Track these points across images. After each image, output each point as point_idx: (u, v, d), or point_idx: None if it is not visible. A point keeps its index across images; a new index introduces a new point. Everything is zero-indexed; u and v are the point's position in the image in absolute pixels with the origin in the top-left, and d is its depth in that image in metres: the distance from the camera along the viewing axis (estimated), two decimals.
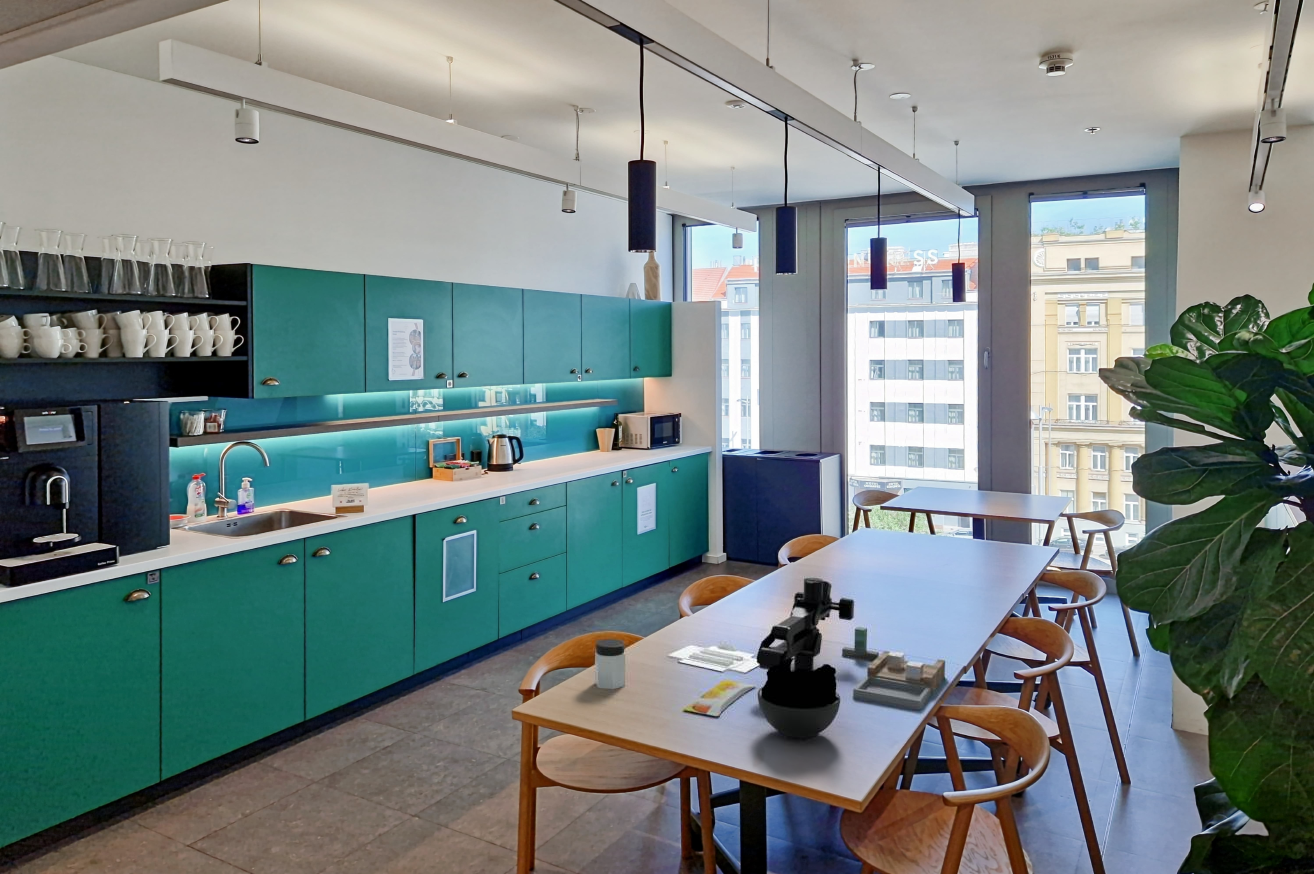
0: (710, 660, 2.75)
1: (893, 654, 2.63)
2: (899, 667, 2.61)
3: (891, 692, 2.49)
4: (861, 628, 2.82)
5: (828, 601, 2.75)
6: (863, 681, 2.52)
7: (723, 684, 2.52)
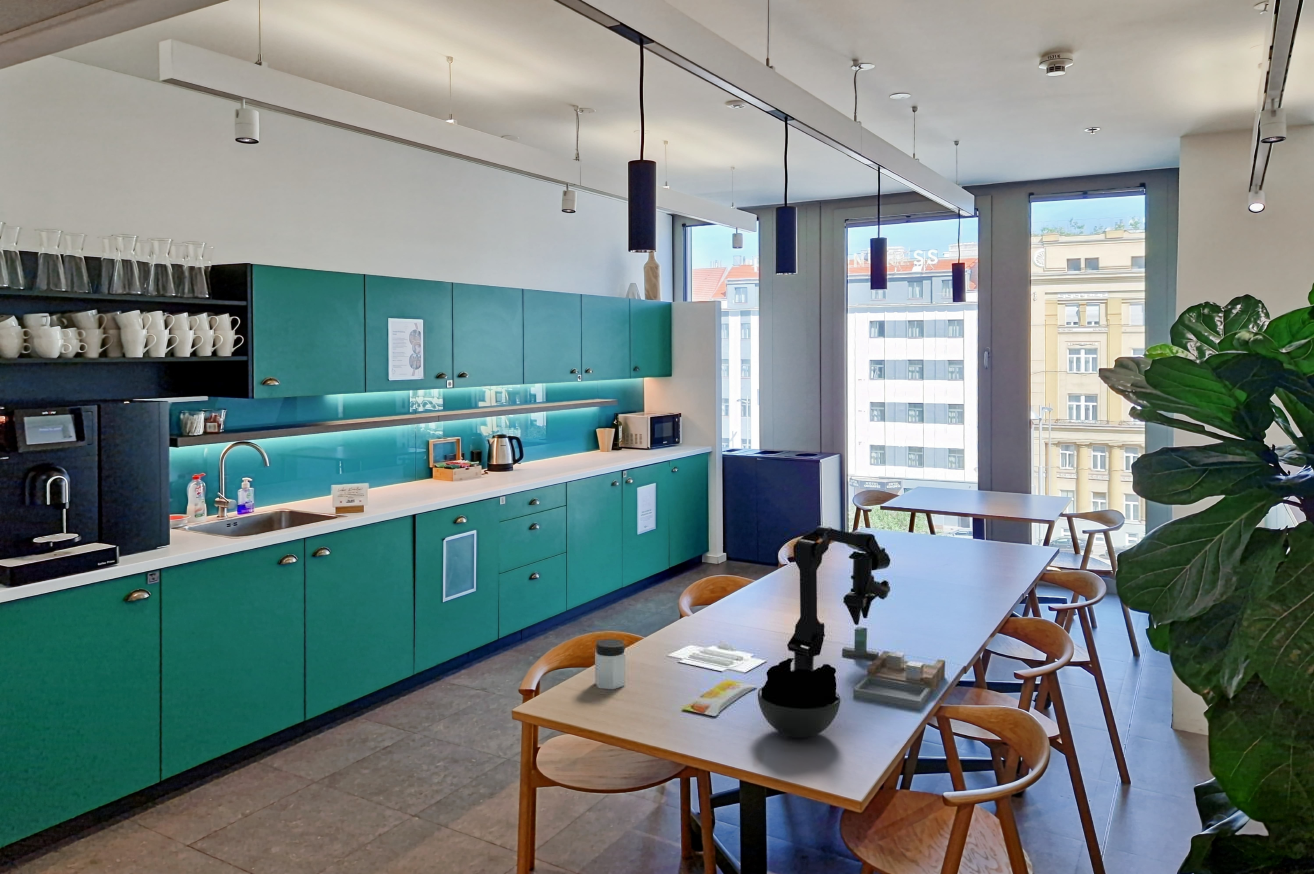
0: (710, 660, 2.75)
1: (893, 654, 2.63)
2: (899, 667, 2.61)
3: (891, 692, 2.49)
4: (861, 628, 2.82)
5: (867, 585, 2.77)
6: (863, 681, 2.52)
7: (724, 684, 2.51)
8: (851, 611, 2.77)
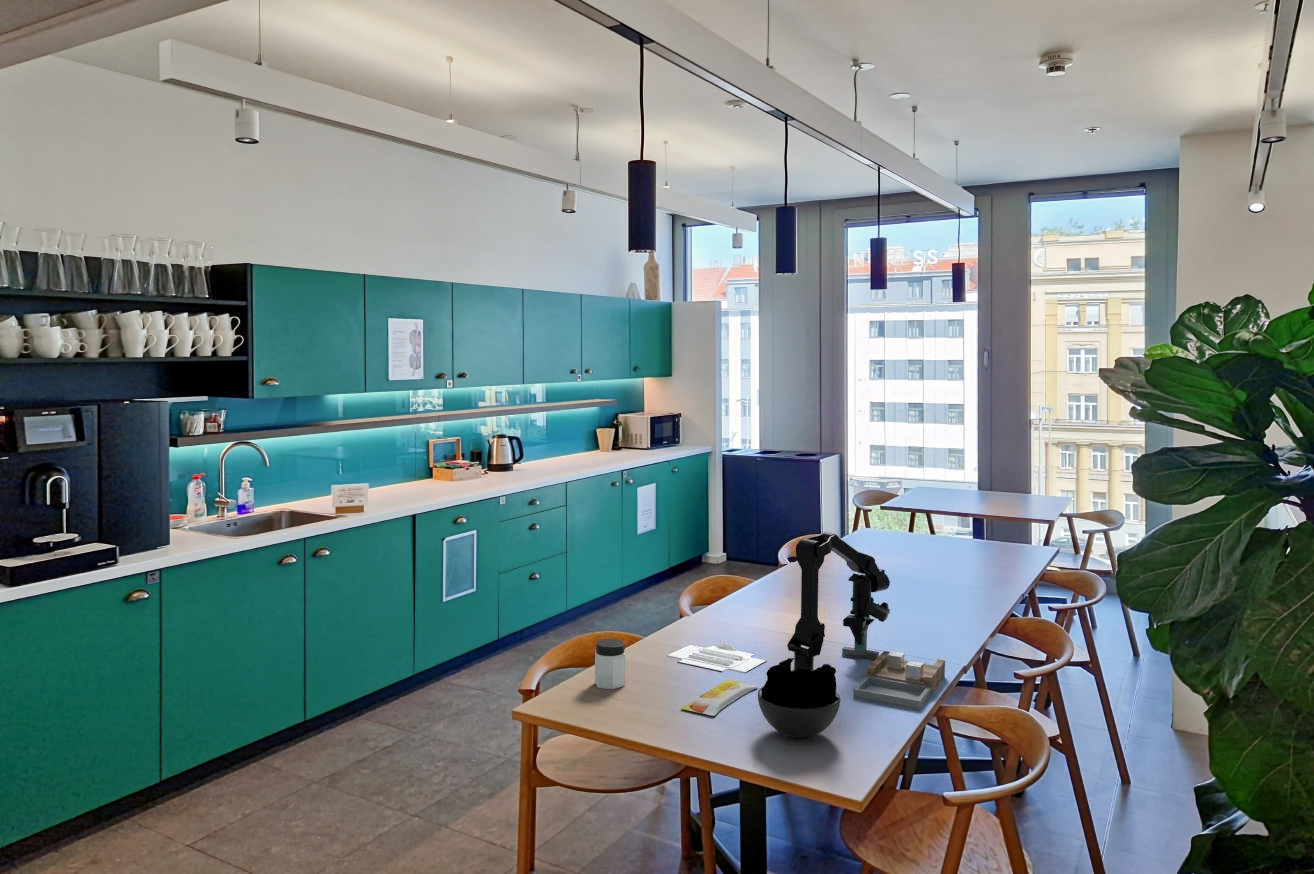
0: (710, 660, 2.75)
1: (893, 654, 2.63)
2: (899, 667, 2.61)
3: (891, 692, 2.49)
4: None
5: (867, 608, 2.78)
6: (863, 681, 2.52)
7: (725, 684, 2.51)
8: (853, 631, 2.80)
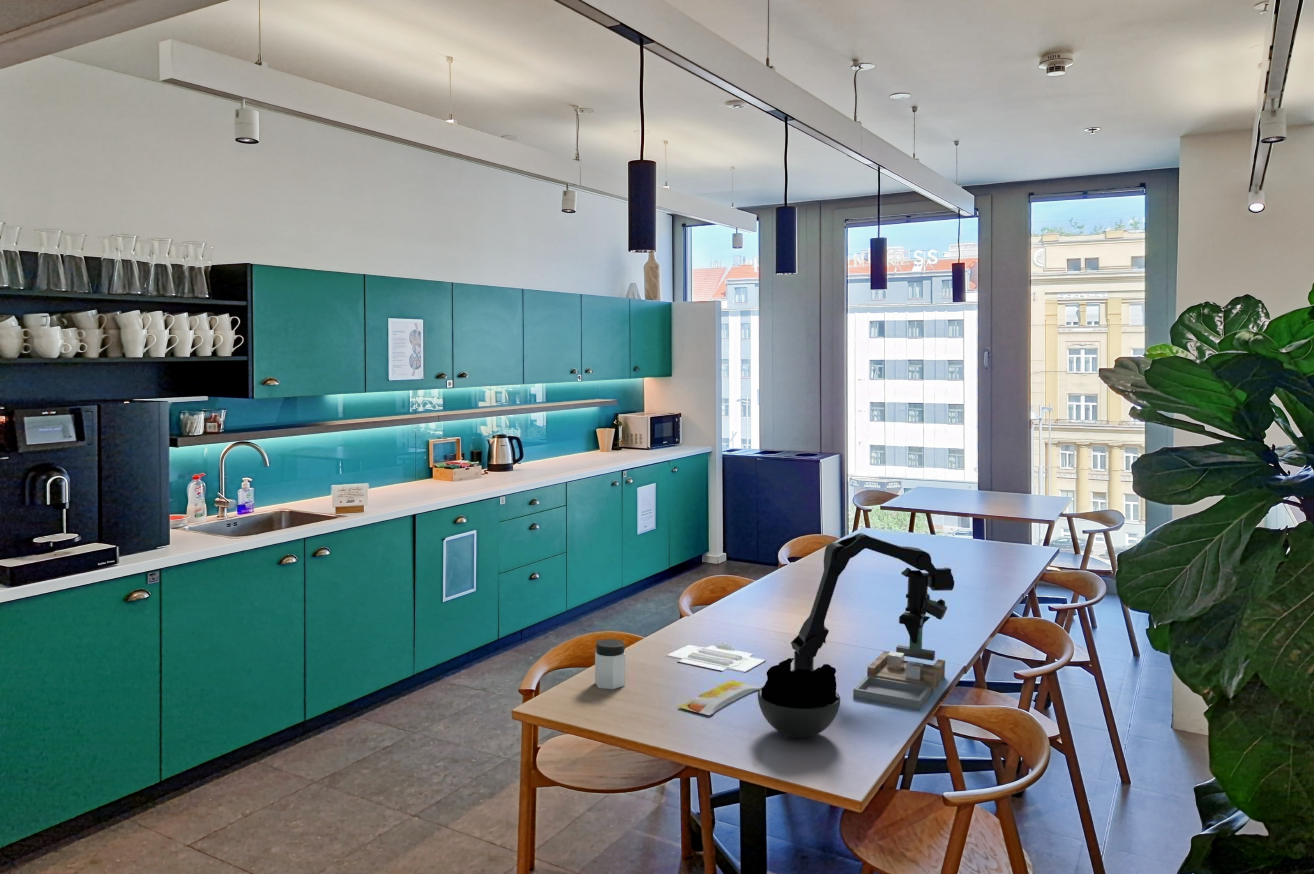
0: (709, 659, 2.75)
1: (893, 654, 2.63)
2: (899, 667, 2.61)
3: (891, 692, 2.49)
4: None
5: (923, 605, 2.66)
6: (863, 681, 2.52)
7: (727, 684, 2.51)
8: (909, 629, 2.68)
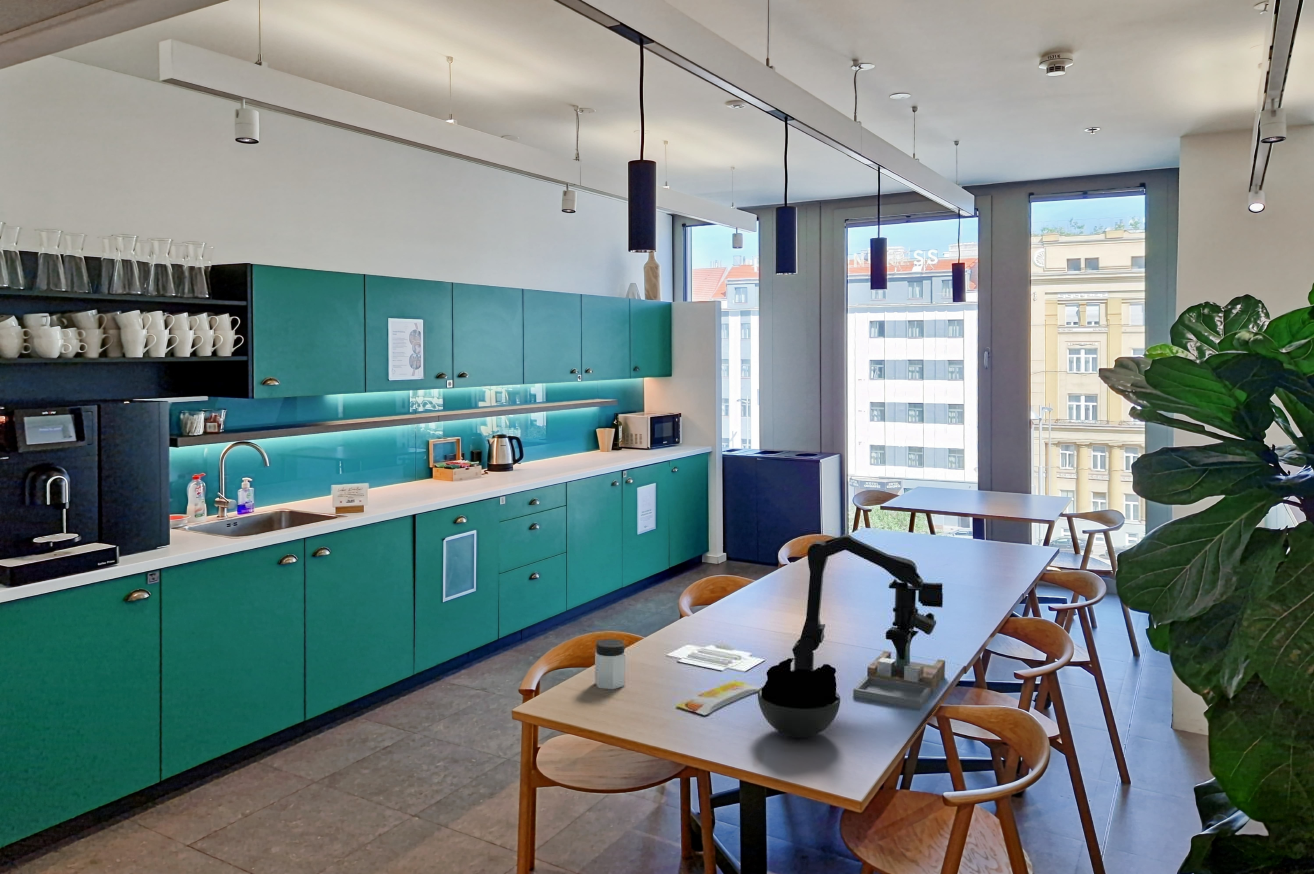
0: (709, 659, 2.75)
1: (883, 660, 2.57)
2: (889, 674, 2.55)
3: (891, 692, 2.49)
4: None
5: (911, 619, 2.53)
6: (863, 681, 2.52)
7: (729, 684, 2.51)
8: (896, 645, 2.55)
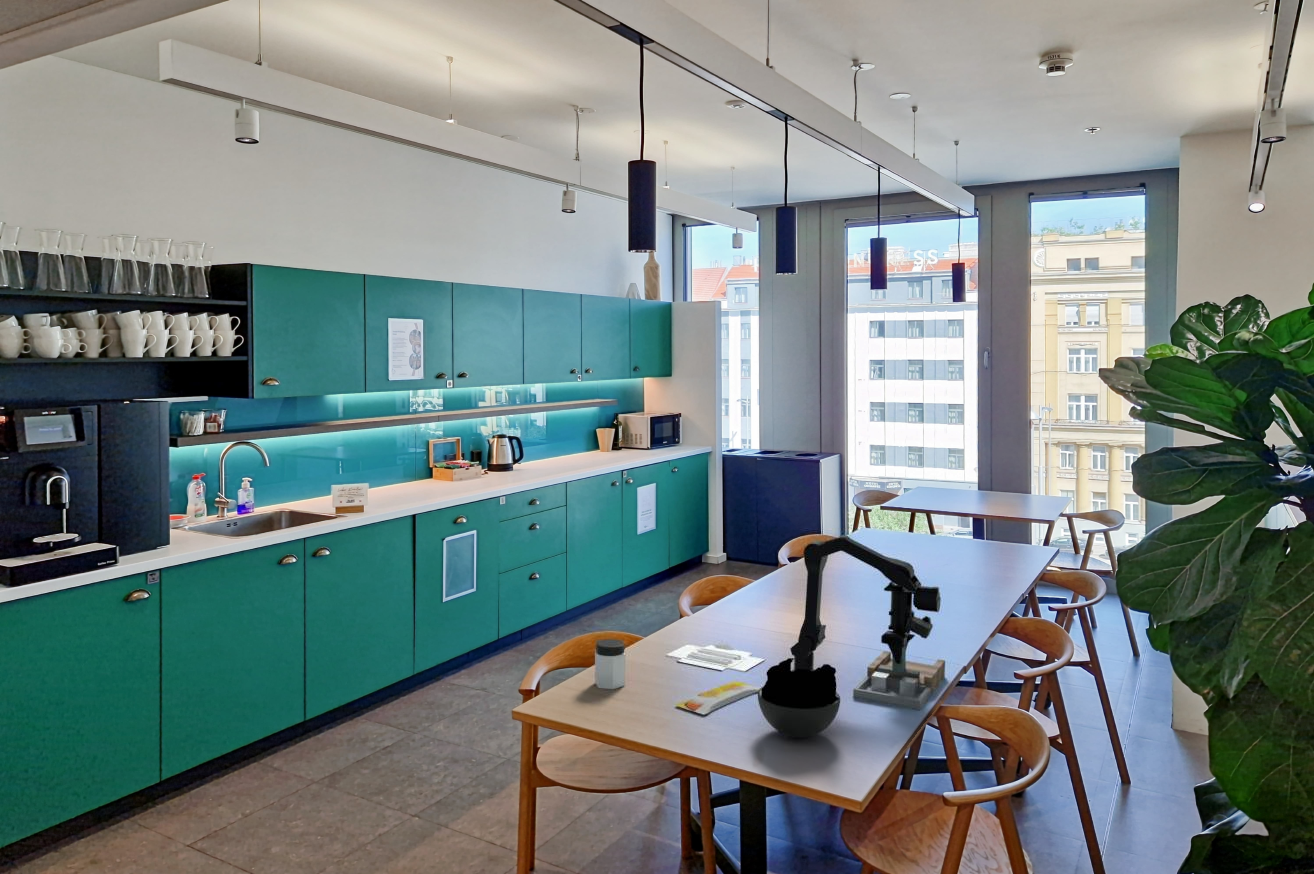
0: (709, 659, 2.76)
1: (876, 686, 2.50)
2: None
3: (891, 692, 2.49)
4: None
5: (907, 623, 2.49)
6: (863, 681, 2.52)
7: (729, 685, 2.51)
8: (892, 649, 2.51)
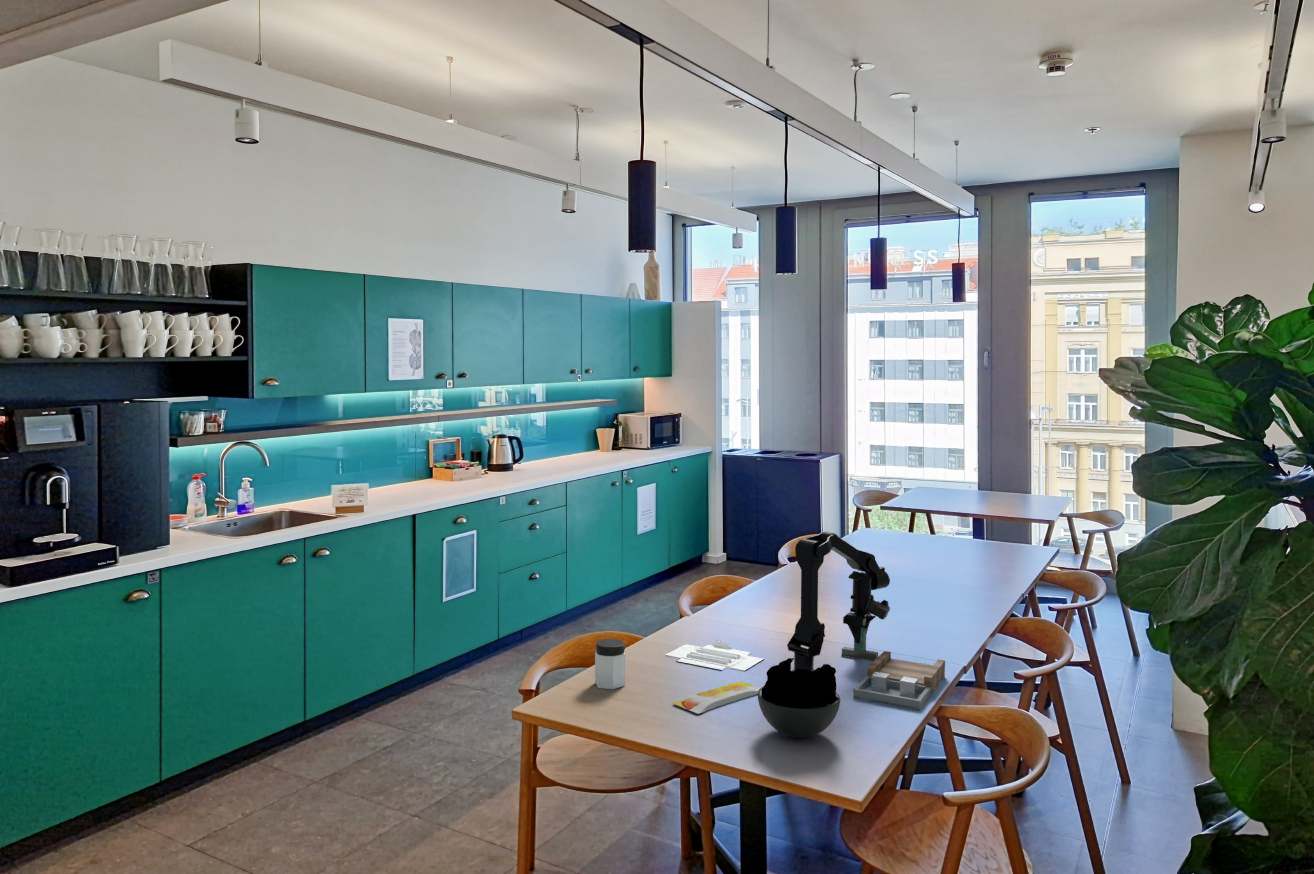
0: (708, 659, 2.76)
1: (876, 686, 2.50)
2: None
3: (891, 692, 2.49)
4: None
5: (867, 605, 2.78)
6: (863, 681, 2.52)
7: (732, 685, 2.51)
8: (852, 630, 2.79)
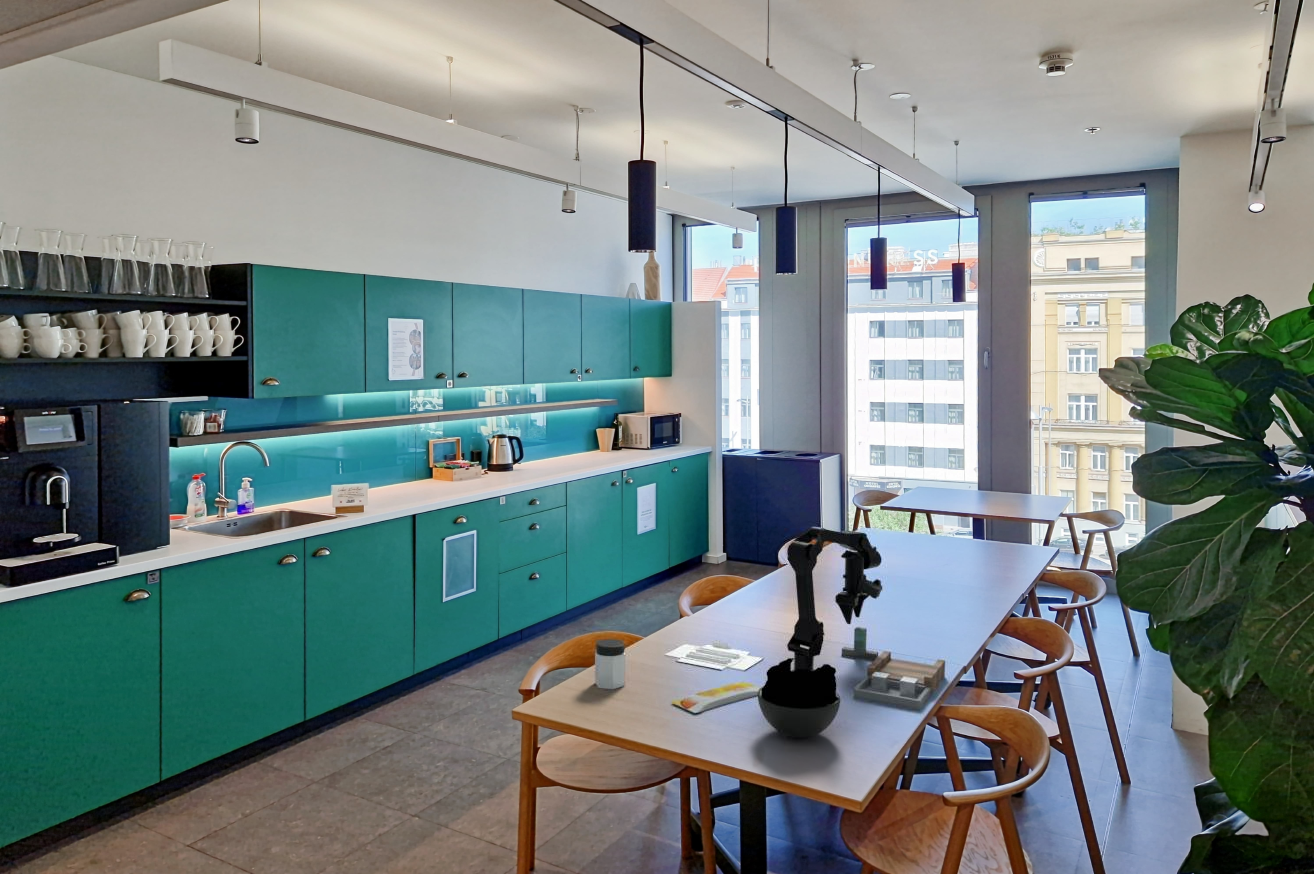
0: (708, 659, 2.76)
1: (876, 686, 2.50)
2: None
3: (891, 692, 2.49)
4: (861, 628, 2.82)
5: (859, 584, 2.76)
6: (863, 681, 2.52)
7: (733, 685, 2.50)
8: (843, 610, 2.76)
